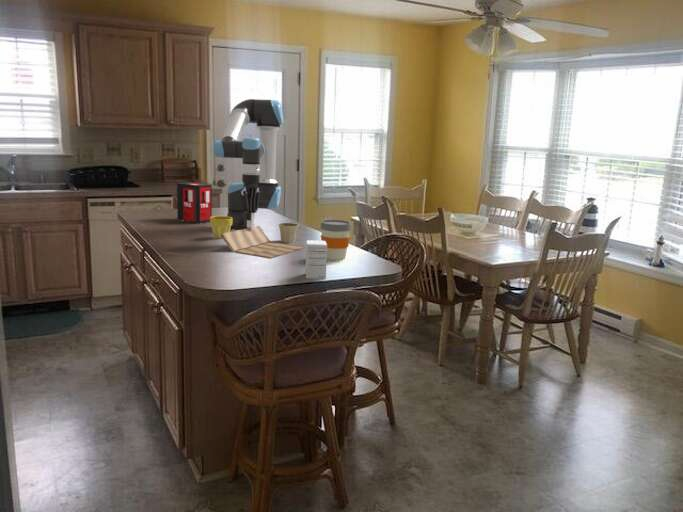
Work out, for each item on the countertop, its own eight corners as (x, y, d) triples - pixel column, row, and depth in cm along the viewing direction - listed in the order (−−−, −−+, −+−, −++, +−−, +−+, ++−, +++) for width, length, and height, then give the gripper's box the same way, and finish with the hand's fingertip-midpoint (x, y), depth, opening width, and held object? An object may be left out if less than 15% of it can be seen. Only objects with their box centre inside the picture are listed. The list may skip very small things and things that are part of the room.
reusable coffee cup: (339, 262, 238) (340, 225, 234) (313, 258, 244) (314, 222, 241) (355, 257, 248) (356, 222, 245) (330, 253, 254) (331, 218, 251)
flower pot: (301, 242, 275) (302, 223, 274) (293, 245, 267) (293, 226, 265) (283, 240, 278) (283, 222, 277) (274, 243, 270) (274, 224, 268)
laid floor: (269, 244, 268) (269, 241, 267) (304, 249, 259) (304, 246, 259) (234, 253, 245) (234, 251, 245) (271, 260, 237) (271, 257, 237)
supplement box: (305, 273, 218) (306, 239, 216) (325, 273, 219) (326, 240, 216) (305, 278, 211) (306, 243, 208) (326, 279, 212) (327, 244, 209)
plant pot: (237, 238, 277) (237, 218, 275) (218, 241, 269) (218, 219, 267) (223, 235, 284) (223, 215, 282) (205, 237, 276) (205, 216, 274)
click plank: (257, 227, 269) (259, 225, 269) (268, 242, 268) (270, 241, 267) (220, 235, 247) (222, 233, 246) (232, 252, 245) (234, 250, 245)
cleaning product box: (177, 220, 320) (176, 183, 315) (189, 218, 327) (189, 182, 323) (199, 224, 311) (199, 186, 307) (211, 222, 319) (211, 185, 314)
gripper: (248, 175, 250) (248, 230, 255) (266, 173, 261) (265, 226, 266) (234, 173, 253) (234, 228, 258) (252, 172, 265) (252, 224, 270)
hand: (250, 227), depth 262 cm, fingers closed
